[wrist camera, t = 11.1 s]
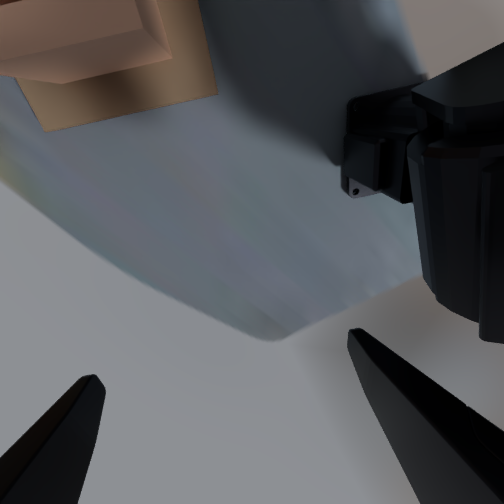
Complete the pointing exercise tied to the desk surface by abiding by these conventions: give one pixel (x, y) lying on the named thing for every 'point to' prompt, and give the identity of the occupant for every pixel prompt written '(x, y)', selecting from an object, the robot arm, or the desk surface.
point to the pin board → (133, 78)
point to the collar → (78, 38)
